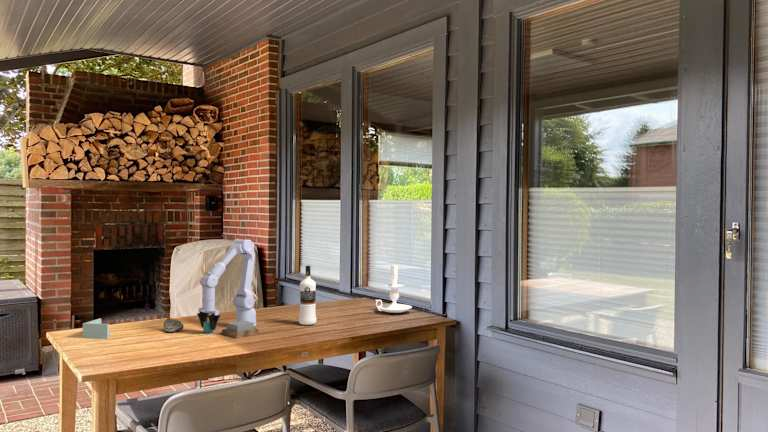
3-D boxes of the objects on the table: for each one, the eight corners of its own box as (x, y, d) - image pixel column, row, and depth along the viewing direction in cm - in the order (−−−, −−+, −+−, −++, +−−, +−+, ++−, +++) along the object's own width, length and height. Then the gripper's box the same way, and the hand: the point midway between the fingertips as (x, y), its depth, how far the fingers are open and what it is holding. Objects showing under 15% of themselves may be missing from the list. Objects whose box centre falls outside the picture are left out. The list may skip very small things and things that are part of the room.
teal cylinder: (210, 331, 280) (210, 320, 280) (215, 332, 277) (215, 322, 276) (201, 332, 276) (201, 322, 276) (206, 334, 273) (206, 323, 273)
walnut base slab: (243, 331, 282) (243, 325, 282) (258, 335, 274) (258, 329, 274) (221, 335, 273) (221, 329, 273) (236, 339, 265) (236, 333, 265)
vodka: (318, 321, 304) (318, 264, 304) (314, 325, 295) (314, 266, 295) (301, 321, 305) (301, 264, 305) (296, 324, 296) (297, 266, 296)
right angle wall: (107, 341, 257) (107, 324, 257) (82, 340, 259) (82, 323, 259) (123, 335, 269) (123, 319, 269) (99, 334, 271) (99, 318, 271)
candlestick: (363, 312, 333) (364, 263, 333) (395, 307, 349) (395, 261, 349) (387, 317, 318) (387, 266, 317) (419, 312, 334) (419, 264, 334)
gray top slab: (242, 326, 280) (242, 320, 280) (253, 329, 274) (253, 322, 274) (226, 329, 273) (226, 322, 273) (237, 332, 267) (237, 325, 267)
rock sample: (159, 324, 270) (168, 310, 277) (156, 333, 275) (165, 319, 282) (179, 334, 272) (188, 320, 278) (176, 342, 276) (185, 328, 283)
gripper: (192, 299, 278) (192, 327, 278) (209, 302, 268) (209, 331, 268) (205, 297, 283) (205, 325, 283) (222, 301, 274) (222, 329, 274)
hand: (208, 328), depth 276 cm, fingers open, 7 cm apart
